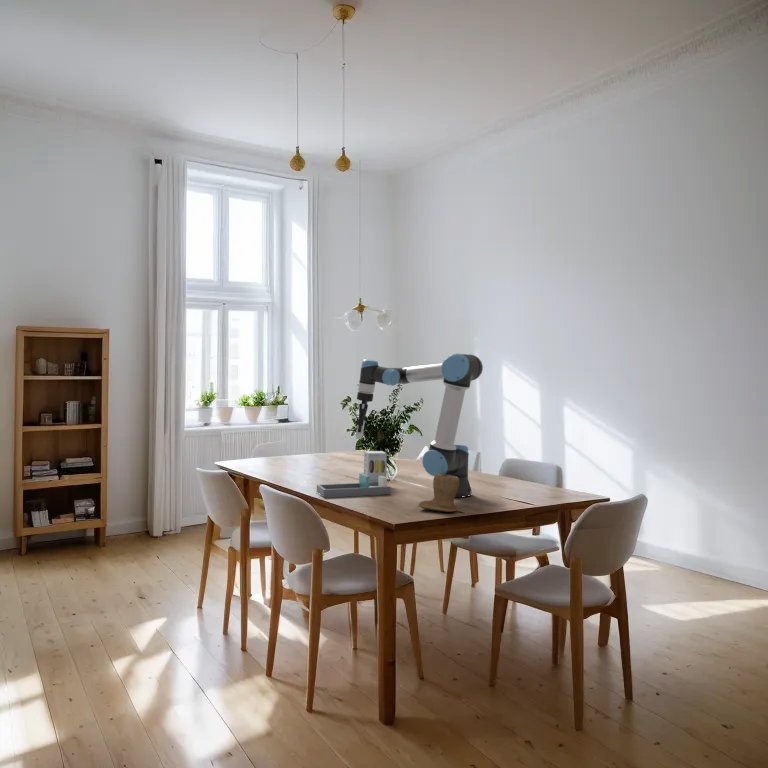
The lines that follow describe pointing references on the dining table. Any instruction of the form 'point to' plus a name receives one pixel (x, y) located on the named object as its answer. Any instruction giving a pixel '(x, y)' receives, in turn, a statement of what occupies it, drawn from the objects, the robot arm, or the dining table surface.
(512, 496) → the dining table surface
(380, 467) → the supplement box
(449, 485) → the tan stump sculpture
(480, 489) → the dining table surface
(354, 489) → the grey tray
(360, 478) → the pusher
